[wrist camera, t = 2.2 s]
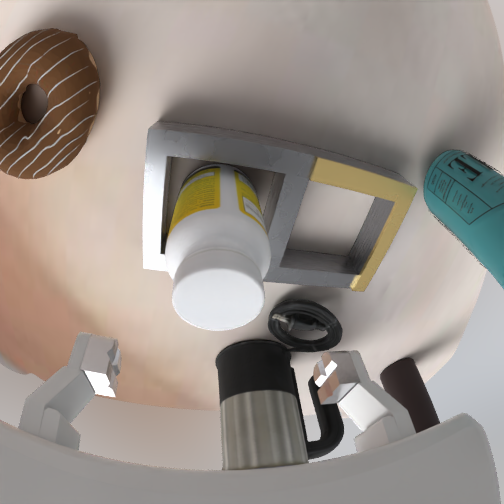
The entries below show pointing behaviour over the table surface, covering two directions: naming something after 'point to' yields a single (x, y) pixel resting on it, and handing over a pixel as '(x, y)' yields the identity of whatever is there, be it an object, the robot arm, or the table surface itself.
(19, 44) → the donut
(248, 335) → the table surface
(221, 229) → the supplement bottle
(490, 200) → the beverage bottle
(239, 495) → the robot arm
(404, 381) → the vinegar
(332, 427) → the milk frother
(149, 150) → the grey compartment tray
